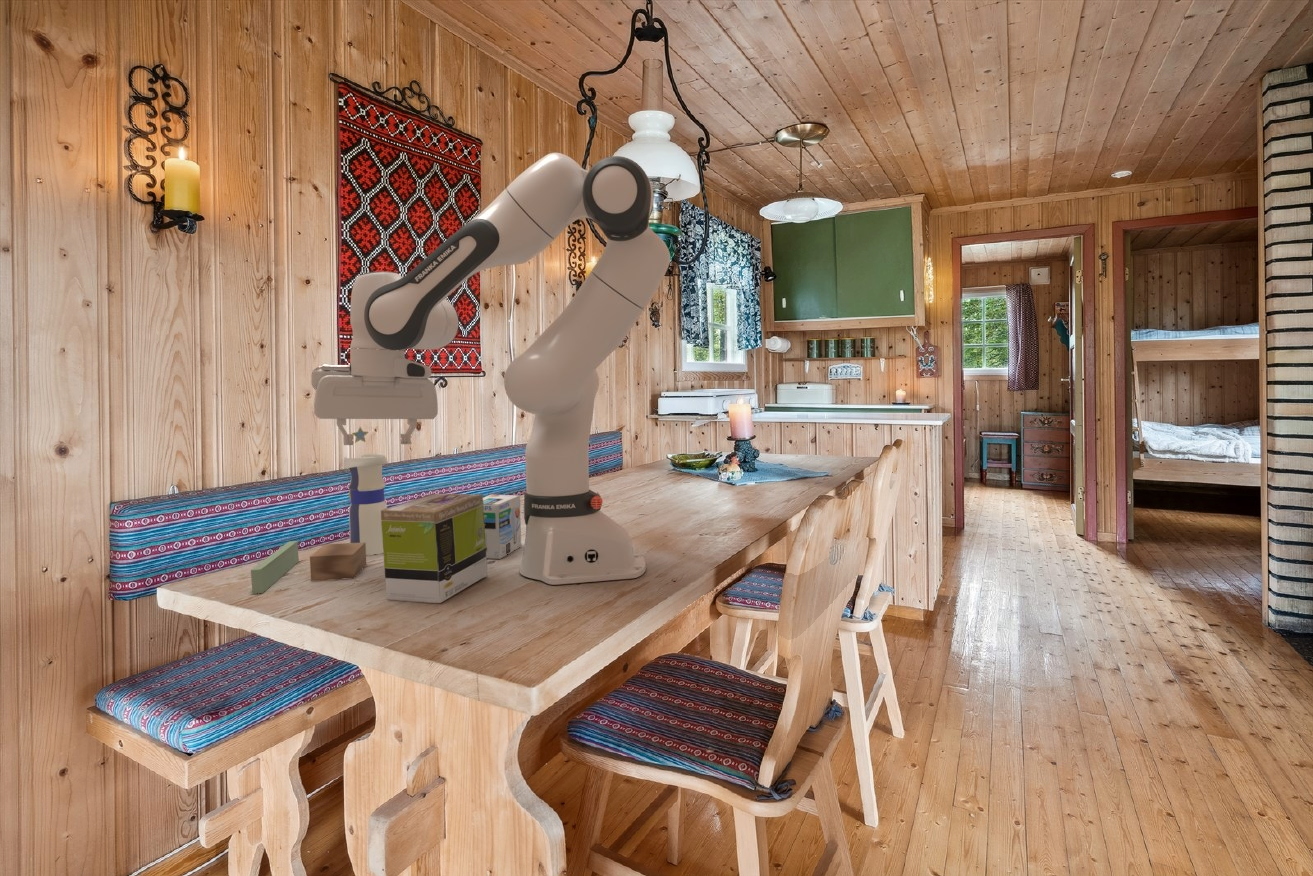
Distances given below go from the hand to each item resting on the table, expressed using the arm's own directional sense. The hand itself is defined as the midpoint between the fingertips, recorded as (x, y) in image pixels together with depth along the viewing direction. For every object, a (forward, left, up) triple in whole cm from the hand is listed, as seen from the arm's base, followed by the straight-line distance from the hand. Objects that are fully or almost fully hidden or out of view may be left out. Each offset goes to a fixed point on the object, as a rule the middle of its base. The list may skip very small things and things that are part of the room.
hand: (377, 444), depth 122 cm
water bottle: (+8, -15, -23) cm, 29 cm away
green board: (+18, +2, -23) cm, 29 cm away
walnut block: (+8, 0, -23) cm, 24 cm away
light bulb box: (-18, -12, -23) cm, 32 cm away
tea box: (-13, +11, -23) cm, 29 cm away
